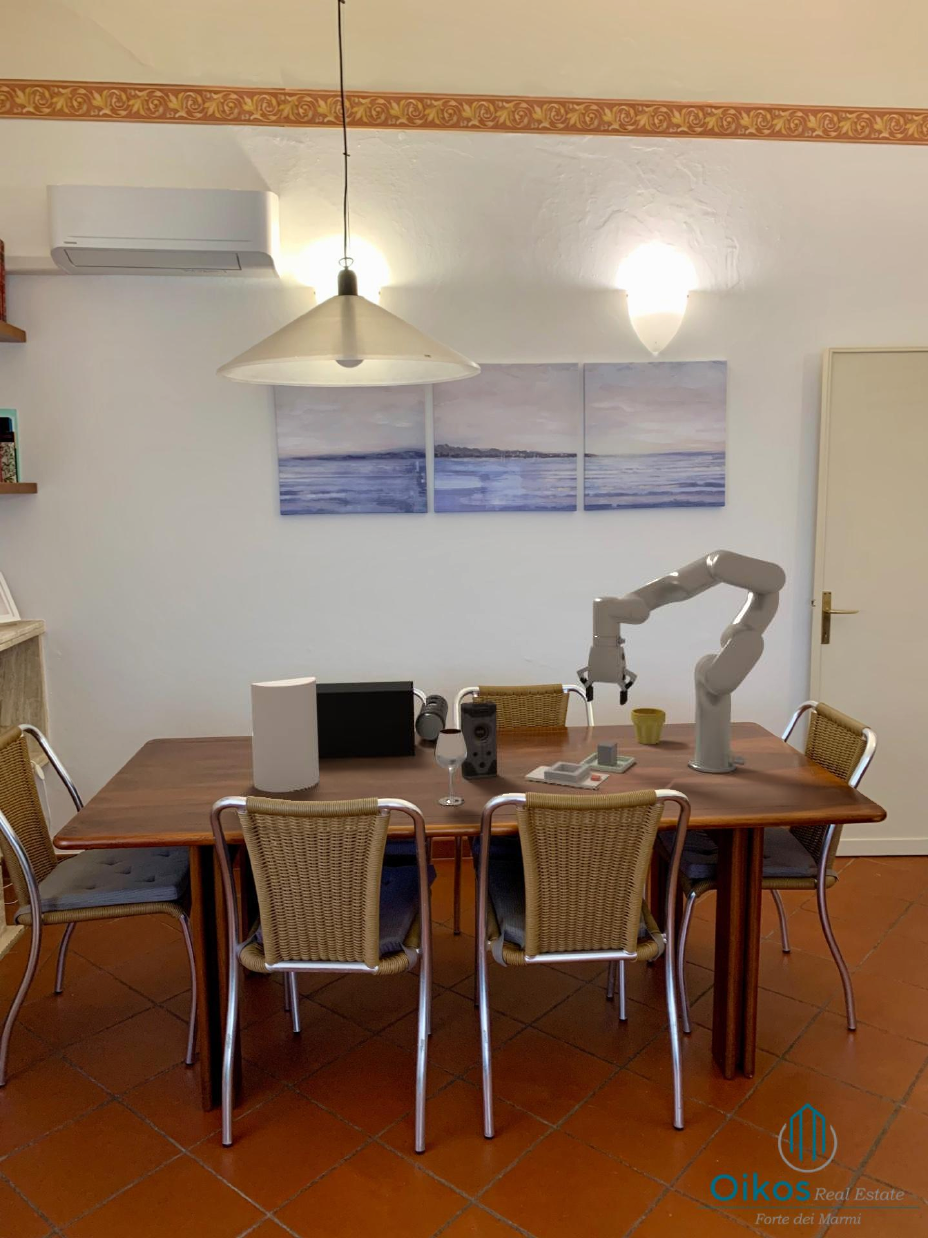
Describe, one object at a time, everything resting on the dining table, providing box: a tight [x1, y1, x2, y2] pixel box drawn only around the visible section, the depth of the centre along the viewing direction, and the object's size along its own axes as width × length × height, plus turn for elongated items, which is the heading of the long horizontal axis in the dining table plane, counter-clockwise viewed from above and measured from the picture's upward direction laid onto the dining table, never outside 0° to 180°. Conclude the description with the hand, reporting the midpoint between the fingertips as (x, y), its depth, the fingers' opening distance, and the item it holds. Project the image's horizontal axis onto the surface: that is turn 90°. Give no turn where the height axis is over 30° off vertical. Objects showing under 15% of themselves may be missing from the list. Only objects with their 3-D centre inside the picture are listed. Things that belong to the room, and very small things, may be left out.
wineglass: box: [433, 728, 467, 806], centre depth 226 cm, size 8×8×18 cm
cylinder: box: [250, 676, 320, 793], centre depth 244 cm, size 17×17×28 cm
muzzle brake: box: [414, 694, 449, 741], centre depth 296 cm, size 10×28×10 cm, turn 178°
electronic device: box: [460, 700, 498, 780], centre depth 248 cm, size 9×6×20 cm, turn 105°
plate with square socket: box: [524, 761, 611, 789], centre depth 244 cm, size 20×11×3 cm, turn 62°
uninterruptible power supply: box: [316, 680, 416, 760], centre depth 274 cm, size 16×34×20 cm, turn 94°
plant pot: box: [630, 707, 666, 745], centre depth 281 cm, size 10×10×10 cm
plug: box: [597, 740, 618, 767], centre depth 254 cm, size 4×5×6 cm
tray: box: [578, 752, 636, 774], centre depth 255 cm, size 12×12×2 cm
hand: (606, 702), depth 253 cm, fingers open, 9 cm apart
